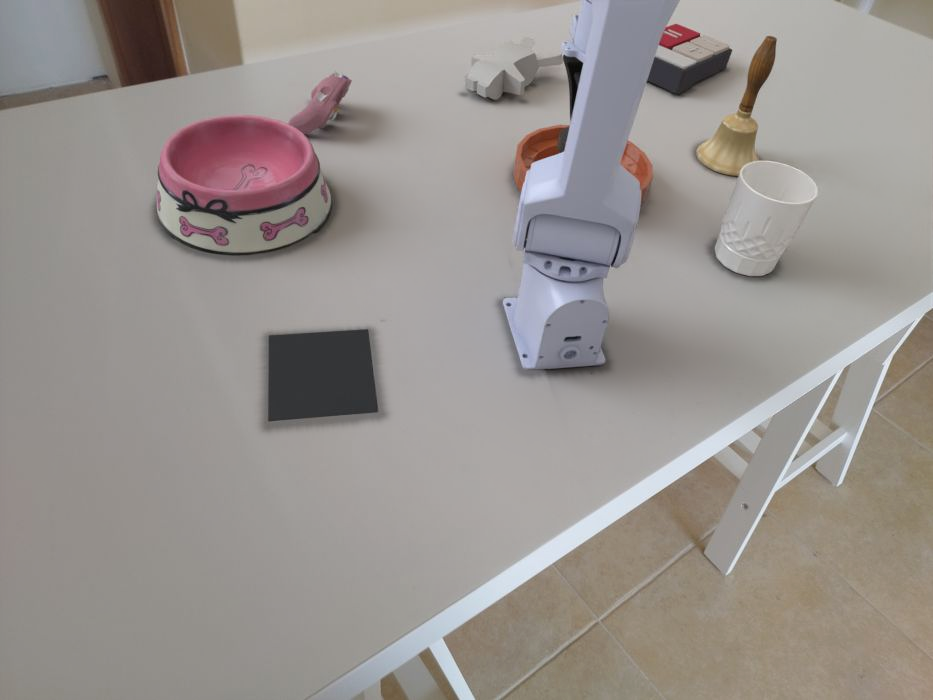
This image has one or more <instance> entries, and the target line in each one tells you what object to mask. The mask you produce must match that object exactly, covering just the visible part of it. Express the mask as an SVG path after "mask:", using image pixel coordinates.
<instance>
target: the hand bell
mask: <svg viewBox="0 0 933 700" xmlns="http://www.w3.org/2000/svg"><path fill="white" fill-rule="evenodd" d="M777 41H778V38H777V37H775V36H772V35H767V36H765V38H764V40H763V41H762V43H761V44H760V46H759V47H758V48H757V49H756V51H755V53H754V54H753V56H752V59H751V61H750V63H749V67H748V72H747V76H746V78H747V81H746V88H745V90H744V93H743V96H742V99H741V100H740V103H739V105H738V110H737V112H736V113H730V114H727V115H725V116H724V118H722V120H721V123H720V124H719V126H718V128H717V130H716V132H715V133H714V134H713V135H712V137H710V138H709V139H707V140H705V141H703V142H701V144H700V145H699V146H698V147H697V148H696V150H695V155H696V159H698V161H699V162H700V163H701V164H702V165H703V166H705V167H706V168H708V169H710V170H712V171H714V172H716V173H718V174H722V175H727V176H733V177H738V176H739V173H740V170H741V168H742V167H743V166H744V165H745V164H747V163H750V162H753V161H760V158H759V155H758V153H757V152H756V147H755V145H756V140H757V139H756V138H757V133H758V130H759V124H758V123H757V121H756V120H755V119H754V118H753V117H752V114H753V110H754V106H755V105H756V100H757V97H758V95H759V92H760V90H761V88H762V87H763V86H764V84H765V83H766V81H767V80H768V78H769V77H770V74H771V72H772V70H773V67H774V65H775V61H776V56H777V55H776V54H777V53H776V51H777Z"/></svg>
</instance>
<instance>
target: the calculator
mask: <svg viewBox="0 0 933 700" xmlns="http://www.w3.org/2000/svg"><path fill="white" fill-rule="evenodd" d="M730 46H731V45H729V44H728V43H725V42H722V41H721V40H718V39H715V38H714V37H713V38H712V37H710V36H708V35H706V34H703V35H701V33H700V32H698V31H695V30H693V29H691V28H688V27H686V26H683V25H681V24H678V23H673V24H671V25H667V26H666V28H665V30H664V32H663V35H662V37H661V39H660V42H659V45H658V48H657V51H656V55H655V58H654V61H653V64H652V67H651V70H650V73H649V76H648V79H647V82H650V83H652V84H654V85H656V86H658V87H660V88H662V89H665V90H667V91H669V92H671V93H674V94H676V95H678V94H681V93H683V92H685V91H687V90H689V89H691V88H692V87H693V85H694V84H695V83H697V82H699V81H701V80H703V79H705V78H708V77H710V76H712V75H715V74H717V73H719V72H721V71H723V70H725V69H727V65H728V64H729V61H730V59H731V55H732V53H733V49H732V48H730Z"/></svg>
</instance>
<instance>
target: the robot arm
mask: <svg viewBox="0 0 933 700" xmlns="http://www.w3.org/2000/svg"><path fill="white" fill-rule="evenodd" d="M680 1H681V0H581V1H580V7H579V13H578V14H572V15H571V22H570V26H569V32H568V33H569V35H570V37H571V40H563V41H561V46H560V50H561V53H562V57H563V63H564V67H565V70H566V75H567V82H568V90H569V91H568V94H569V119H570V120H569V121H570V122H569V125H570V127H569V132H568V136H567V141H566V146H565V150H564V152H562V153H559V154H557V155H554V156H550V157H547V158H544V159H541V160H539V161H536V162H534V163H532V164H531V168H530V170H528V171H527V172H526V177H525V182H524V183H523V187H522V191H521V192H520V196H519V202H518V207H517V212H516V217H515V224H514V230H513V236H512V244H513V245H514V247H515V249H516V250H517V251H518V252H523V251H524V254H523V259H522V263H523V266H522V272H521V275H520V276H521V277H520V283H519V288H518V292H517V297H505V298H503V299H502V306H503V309H504V312H505V316H506V318H507V322H508V325H509V329H510V332H511V335H512V338H513V342H514V345H515V348H516V351H517V354H518V357H519V361H520V364H521V367H522V368H523V370H527V371H528V370H529V371H530V370H541V369H542V370H543V369H544V370H552V369H564V368H578V367H579V368H580V367H591V366H592V367H593V366H602V365H604V364H605V363H606V361H607V360H606V359H607V358H606V357H605V354H604V352H603V349H602V344H603V341H604V339H605V334H606V331H607V329H608V325H609V323H610V322H609V321H610V310H609V307H608V303H607V301H606V297H605V294H604V293H605V292H604V279H605V278H608V275H609V272H610V268H613V269H619V268H620V267H621V266H622V265H624V264H625V263H626V262H627V260H628V258H629V256H630V253H631V250H632V247H633V244H634V243H633V242H634V238H635V235H636V229H637V226H638V222H639V218H640V211H641V207H640V205H641V190H640V182H639V180H637V179H636V178H635V177H634V176H633V175H632V174H631V173H630V172H628V171H627V170H626V169H625V168H624V167H622V166H621V165H620V162H621V159H622V156H623V153H624V150H625V147H626V144H627V141H629V137H630V135H631V131H632V128H633V125H634V122H635V119H636V116H637V113H638V110H639V107H640V103H641V100H642V98H643V94H644V91H645V88H646V85H647V82H648V81H647V79H648V76H649V73H650V70H651V67H652V64H653V61H654V58H655V55H656V51H657V48H658V45H659V42H660V39H661V37H662V35H663V32H664V30H665V28H666V27H668V24H669V22H670V20H671V18H672V17H673V14H674V13H675V12H676V9H677V7H678V5H679V3H680ZM524 356H525V357H524Z"/></svg>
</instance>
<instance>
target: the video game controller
mask: <svg viewBox="0 0 933 700" xmlns="http://www.w3.org/2000/svg"><path fill="white" fill-rule="evenodd" d="M352 81H353V80H352V79H350V78H349V76H346V75H344V74H342V73H341V74H339V73H338V72H337V71H335V72H334V73H332V74H330V75H328V76H327V77H324V78H323V79H322V80H321V81H319V83H318V84H317V85H316V86H315V87H314V88H313V89H312V90H311V93H310V97H311V100H310V102H309V104H308V105H307V106H306V107H305V108H303V109H302V110H301V111H299V112H298V113H296V114H295V115H293V116H292V117H291V118H290V119H289V121H288V123H287V124H289V125H291V126H293V127H295V128H296V129H298V130H299V131H301V132H302V133H303V134H304V135H307V134H310V133H312V132H314V131H316V130H317V129H318V128H319V129H321V130H323V129H324V127H325V126H326V124H327V123H328V121H329V120H330V121H331V122H333V121H334V120H335V119H336V117H337V114H338V112H339V108H338V106H339V105H340V103H341V101H343V98H345V97H346V95H347V94H348V92H349V88H350V86H351V84H352Z"/></svg>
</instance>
